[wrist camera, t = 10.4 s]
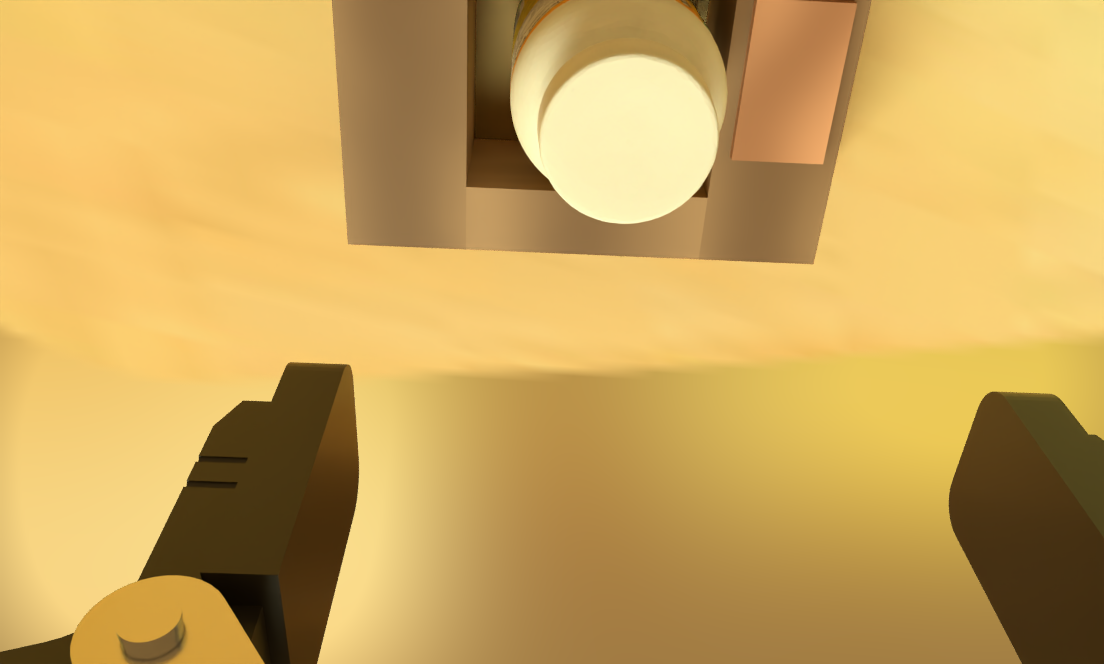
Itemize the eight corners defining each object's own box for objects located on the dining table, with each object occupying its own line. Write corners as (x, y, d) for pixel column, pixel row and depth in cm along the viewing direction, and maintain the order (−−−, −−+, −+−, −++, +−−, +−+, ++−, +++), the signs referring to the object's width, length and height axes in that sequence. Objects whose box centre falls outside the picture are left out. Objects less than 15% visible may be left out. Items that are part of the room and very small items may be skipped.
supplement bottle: (478, 19, 29) (454, 127, 21) (618, -105, 27) (651, -40, 19) (590, 149, 31) (607, 292, 23) (725, 41, 29) (797, 155, 21)
